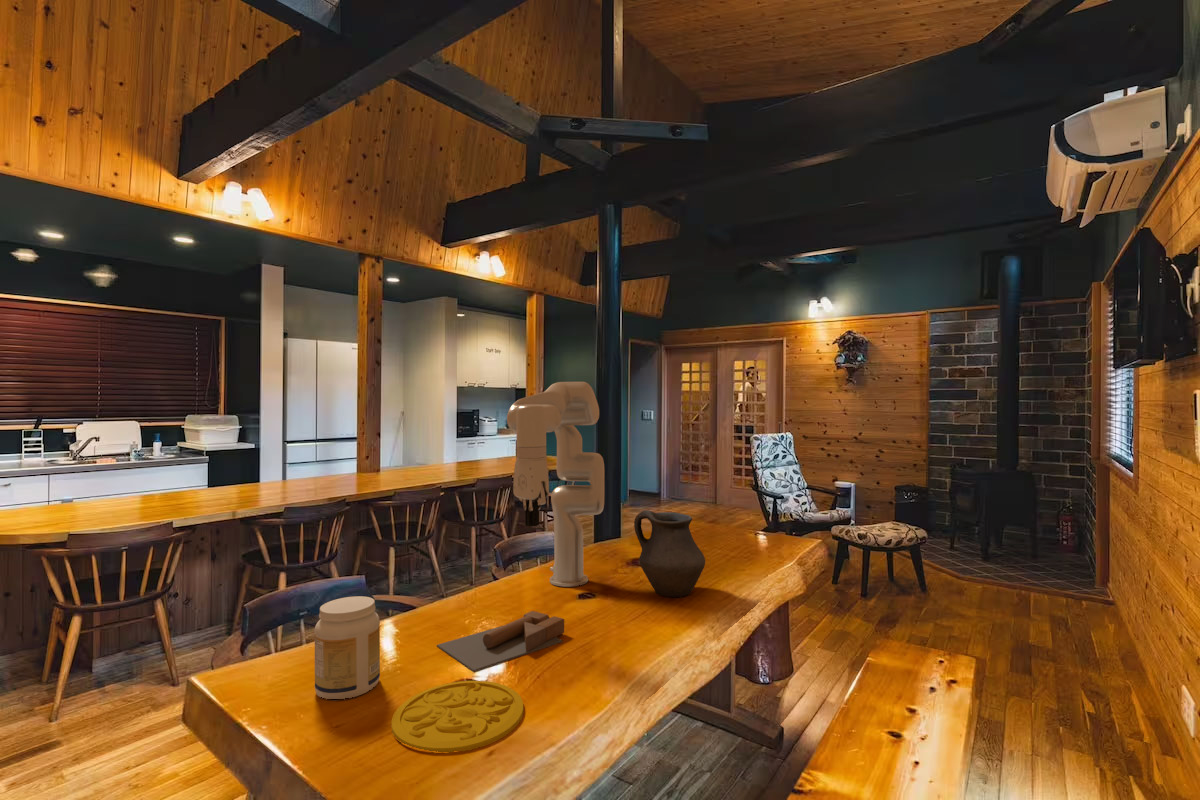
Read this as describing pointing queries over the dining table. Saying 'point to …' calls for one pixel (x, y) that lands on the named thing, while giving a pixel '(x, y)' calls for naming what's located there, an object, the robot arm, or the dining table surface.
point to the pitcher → (669, 553)
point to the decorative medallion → (458, 716)
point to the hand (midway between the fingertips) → (532, 525)
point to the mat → (488, 650)
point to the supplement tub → (347, 648)
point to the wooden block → (527, 630)
